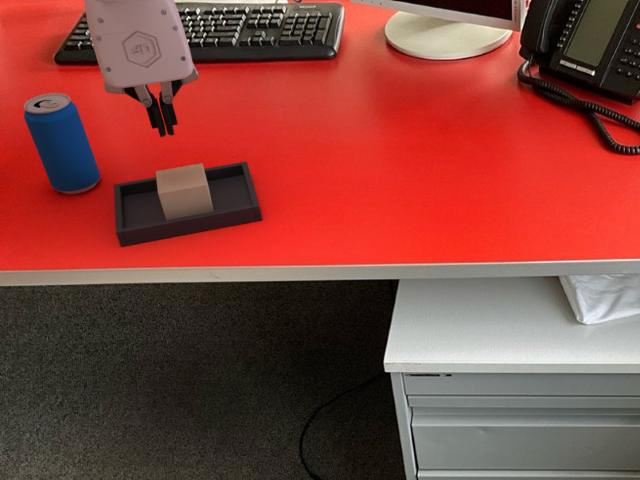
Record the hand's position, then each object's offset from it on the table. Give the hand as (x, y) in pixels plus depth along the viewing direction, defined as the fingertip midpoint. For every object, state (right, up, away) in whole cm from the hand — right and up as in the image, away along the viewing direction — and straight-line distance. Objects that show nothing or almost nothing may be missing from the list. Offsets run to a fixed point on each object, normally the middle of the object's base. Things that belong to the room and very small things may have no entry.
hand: (166, 131), depth 111 cm
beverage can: (-17, -4, +13) cm, 22 cm away
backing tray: (0, -8, +7) cm, 11 cm away
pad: (0, -8, +7) cm, 11 cm away
